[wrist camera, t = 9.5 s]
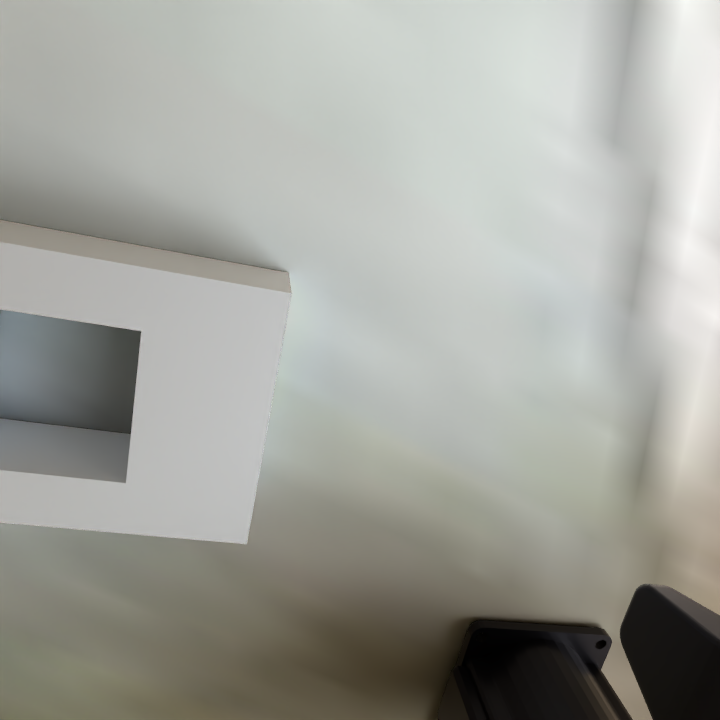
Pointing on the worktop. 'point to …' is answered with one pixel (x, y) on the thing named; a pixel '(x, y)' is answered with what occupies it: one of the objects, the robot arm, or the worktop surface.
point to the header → (148, 388)
